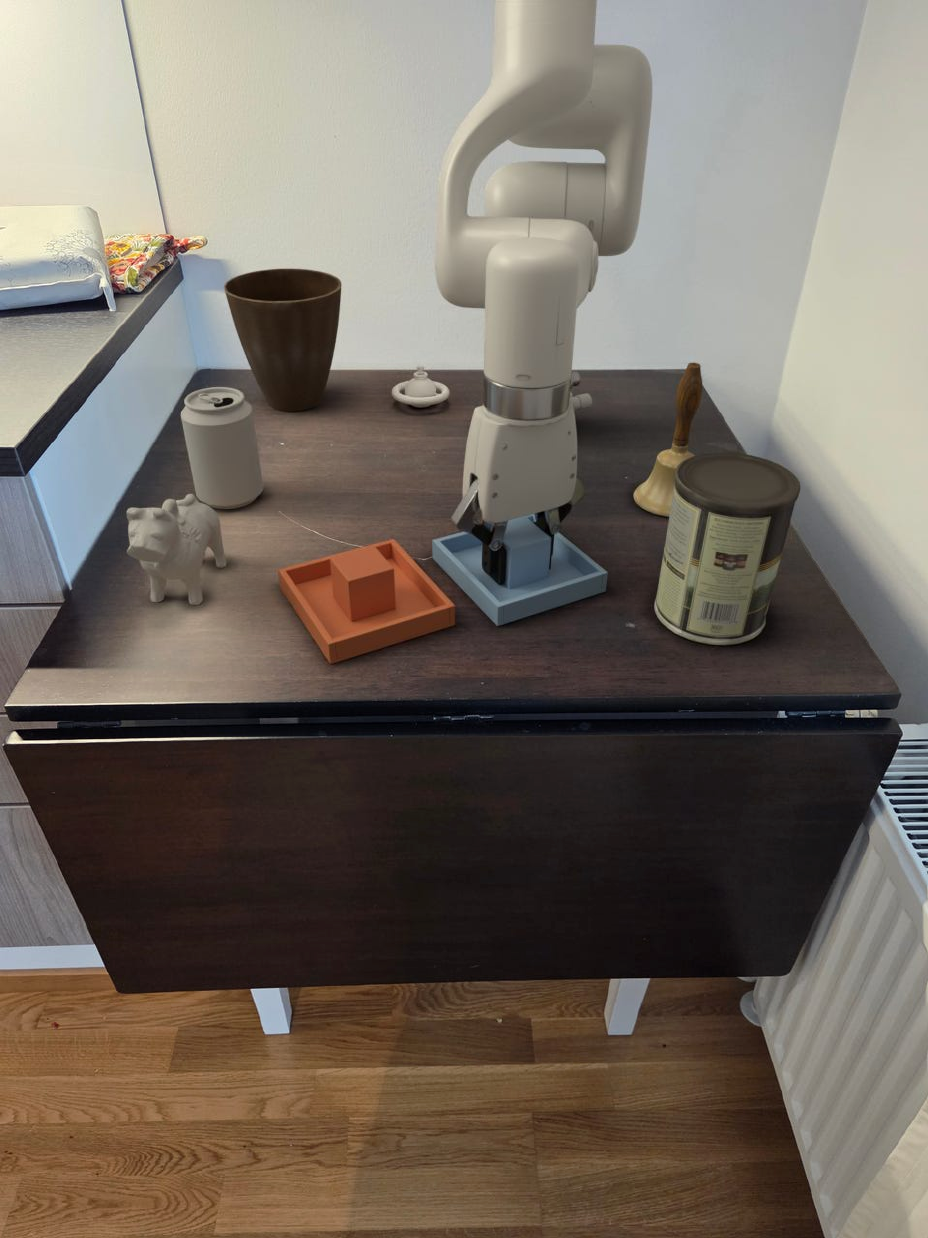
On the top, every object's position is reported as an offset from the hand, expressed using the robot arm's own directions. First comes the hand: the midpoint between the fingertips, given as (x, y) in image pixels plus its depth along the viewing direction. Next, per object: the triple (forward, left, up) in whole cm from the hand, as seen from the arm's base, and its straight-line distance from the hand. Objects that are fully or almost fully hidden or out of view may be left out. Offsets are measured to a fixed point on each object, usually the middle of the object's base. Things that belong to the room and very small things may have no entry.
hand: (517, 569), depth 86 cm
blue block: (0, 0, 0) cm, 0 cm away
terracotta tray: (+15, -2, -1) cm, 16 cm away
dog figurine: (+29, -13, -1) cm, 32 cm away
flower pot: (+4, -52, -1) cm, 52 cm away
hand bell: (-24, -5, -1) cm, 24 cm away
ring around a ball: (-11, -43, -1) cm, 44 cm away
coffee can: (-13, +14, -1) cm, 19 cm away
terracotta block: (+15, -2, 0) cm, 16 cm away
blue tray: (0, 0, -1) cm, 1 cm away
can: (+20, -29, -1) cm, 36 cm away
